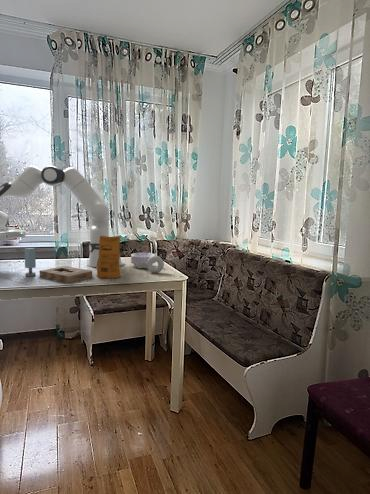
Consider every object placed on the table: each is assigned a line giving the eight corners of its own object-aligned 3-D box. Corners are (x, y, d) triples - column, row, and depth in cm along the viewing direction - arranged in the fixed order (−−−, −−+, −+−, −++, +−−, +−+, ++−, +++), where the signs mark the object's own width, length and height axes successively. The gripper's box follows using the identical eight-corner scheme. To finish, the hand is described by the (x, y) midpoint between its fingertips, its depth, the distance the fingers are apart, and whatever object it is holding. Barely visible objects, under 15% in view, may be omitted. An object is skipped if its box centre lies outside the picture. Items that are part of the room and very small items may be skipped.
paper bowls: (133, 270, 199) (134, 256, 198) (128, 265, 213) (128, 252, 212) (158, 268, 205) (158, 256, 204) (151, 264, 219) (151, 252, 218)
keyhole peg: (23, 276, 174) (22, 248, 172) (31, 274, 178) (31, 247, 176) (29, 277, 172) (28, 249, 170) (37, 275, 176) (37, 248, 174)
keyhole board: (39, 277, 173) (39, 270, 173) (64, 272, 187) (64, 265, 186) (68, 283, 163) (68, 276, 162) (92, 277, 177) (92, 270, 176)
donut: (163, 272, 195) (164, 255, 194) (163, 273, 192) (164, 256, 191) (146, 272, 194) (146, 255, 193) (146, 273, 191) (146, 256, 190)
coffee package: (98, 274, 184) (98, 234, 181) (121, 274, 185) (121, 235, 182) (95, 278, 175) (95, 236, 172) (119, 279, 176) (119, 237, 173)
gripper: (-21, 229, 175) (-5, 231, 169) (15, 227, 193) (31, 228, 186) (-20, 241, 176) (-5, 243, 170) (16, 238, 194) (31, 240, 187)
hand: (14, 235), depth 178 cm, fingers open, 8 cm apart
